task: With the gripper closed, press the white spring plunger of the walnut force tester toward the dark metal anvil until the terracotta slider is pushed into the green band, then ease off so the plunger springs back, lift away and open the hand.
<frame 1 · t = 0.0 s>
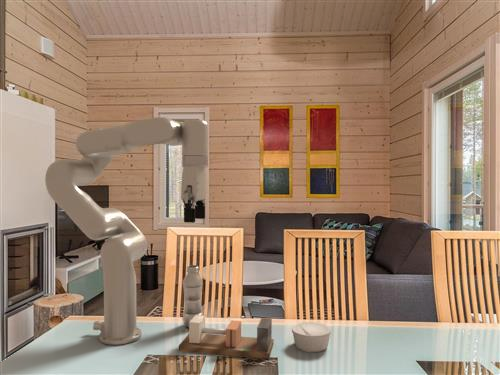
hand: (194, 220, 122), 37 cm above the table, tool pointing down, fingers open, 9 cm apart
plunger: (209, 329, 122), point 5 cm above the table, slide at 0.0 cm
plastic bottle: (192, 326, 137), on the table
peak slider: (233, 334, 120), point 4 cm above the table, slide at 0.0 cm
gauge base: (227, 347, 121), on the table
ramekin: (311, 346, 122), on the table
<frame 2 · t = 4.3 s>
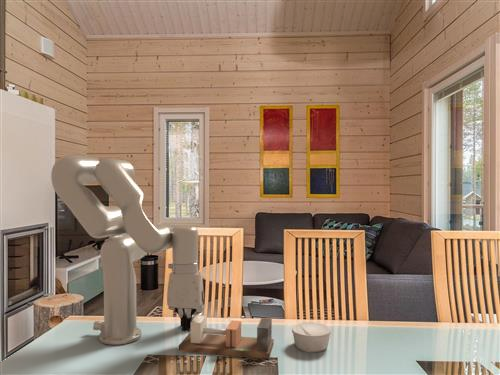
hand: (186, 329, 123), 4 cm above the table, tool pointing down, fingers closed
plunger: (211, 329, 122), point 5 cm above the table, slide at 0.5 cm, touching gripper
everything else where it was.
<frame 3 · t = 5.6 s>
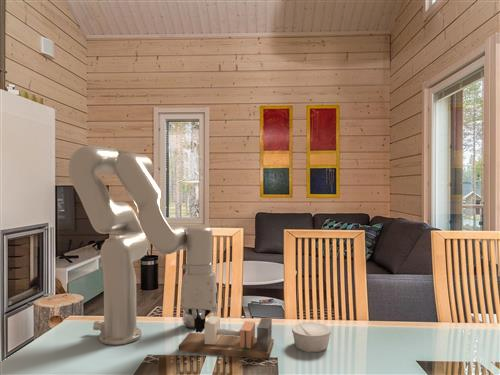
hand: (199, 330, 122), 4 cm above the table, tool pointing down, fingers closed
plunger: (225, 331, 121), point 5 cm above the table, slide at 4.6 cm, touching gripper, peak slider
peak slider: (247, 335, 119), point 4 cm above the table, slide at 4.1 cm, touching plunger
everything else where it was.
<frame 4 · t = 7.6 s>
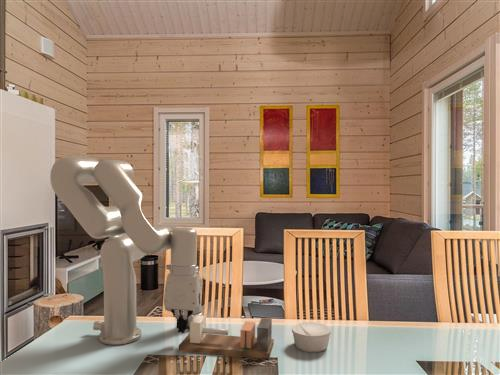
hand: (182, 330, 123), 4 cm above the table, tool pointing down, fingers closed
plunger: (210, 329, 122), point 5 cm above the table, slide at 0.2 cm
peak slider: (247, 335, 119), point 4 cm above the table, slide at 4.2 cm
everything else where it was.
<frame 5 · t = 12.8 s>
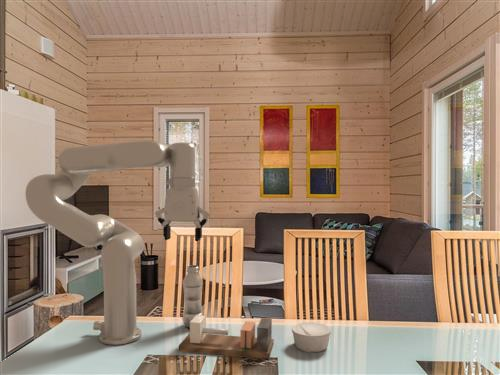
hand: (182, 239, 127), 30 cm above the table, tool pointing down, fingers open, 9 cm apart
nothing on the table moved.
at the end: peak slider slide at 4.2 cm; plunger slide at 0.2 cm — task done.
